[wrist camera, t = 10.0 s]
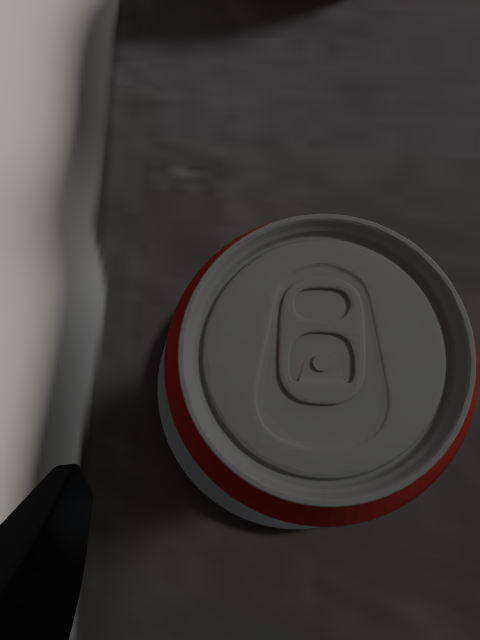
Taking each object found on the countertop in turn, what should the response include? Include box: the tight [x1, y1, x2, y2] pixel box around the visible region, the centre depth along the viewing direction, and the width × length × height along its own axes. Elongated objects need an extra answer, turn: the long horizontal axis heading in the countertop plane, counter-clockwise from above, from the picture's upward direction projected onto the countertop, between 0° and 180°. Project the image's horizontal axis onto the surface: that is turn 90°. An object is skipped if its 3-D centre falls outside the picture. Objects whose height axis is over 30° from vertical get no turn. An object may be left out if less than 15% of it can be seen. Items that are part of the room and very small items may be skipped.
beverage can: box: [164, 214, 478, 527], centre depth 14 cm, size 7×7×12 cm
